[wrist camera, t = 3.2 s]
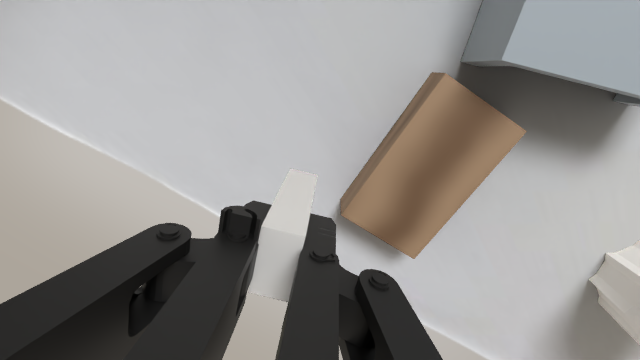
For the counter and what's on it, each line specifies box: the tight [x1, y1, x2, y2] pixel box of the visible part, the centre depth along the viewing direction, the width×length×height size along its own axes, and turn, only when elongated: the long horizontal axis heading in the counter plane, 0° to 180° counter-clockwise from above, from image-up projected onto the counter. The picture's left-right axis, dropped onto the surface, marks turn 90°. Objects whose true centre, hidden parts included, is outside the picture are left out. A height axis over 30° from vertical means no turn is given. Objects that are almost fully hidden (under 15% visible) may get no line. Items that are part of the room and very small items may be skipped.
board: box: [341, 72, 527, 259], centre depth 28 cm, size 8×14×4 cm, turn 148°
